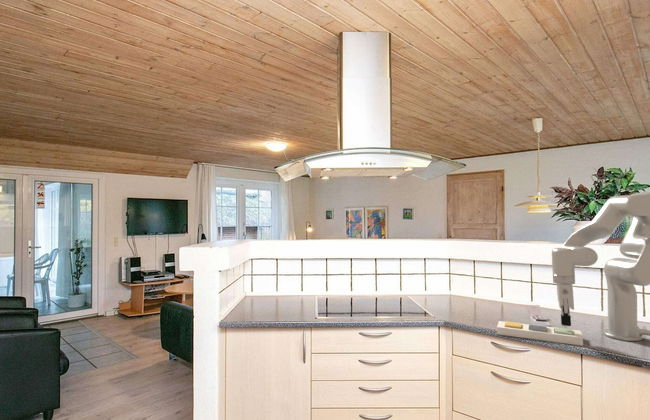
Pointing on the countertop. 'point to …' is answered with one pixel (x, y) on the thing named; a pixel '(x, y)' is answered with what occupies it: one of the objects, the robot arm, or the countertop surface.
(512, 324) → the key ochre
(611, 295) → the robot arm
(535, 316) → the mobile phone
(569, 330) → the key sage
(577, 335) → the keypad
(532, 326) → the key slate
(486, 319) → the countertop surface
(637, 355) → the countertop surface
